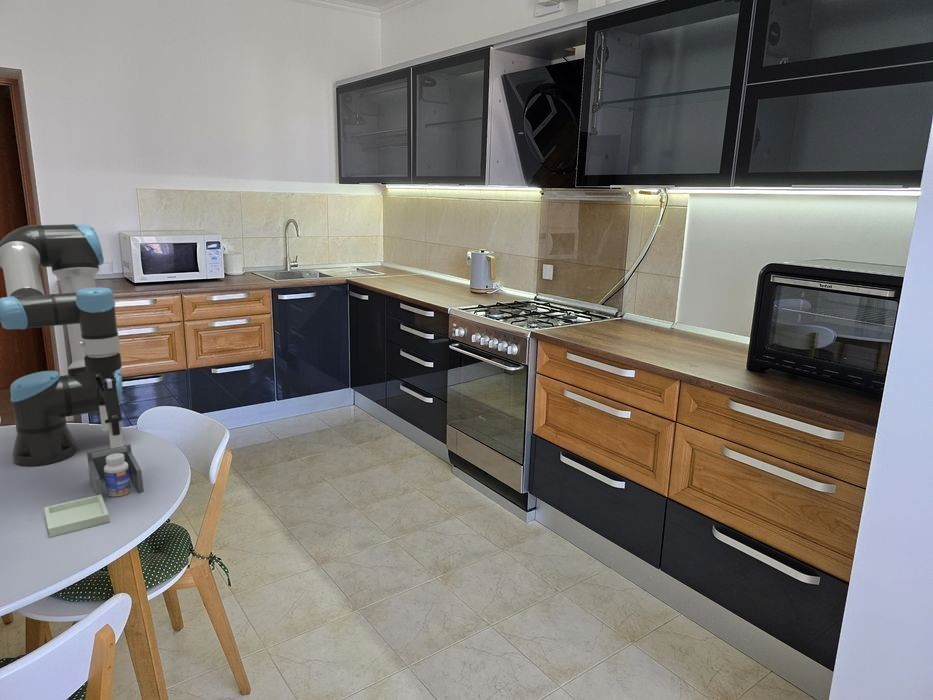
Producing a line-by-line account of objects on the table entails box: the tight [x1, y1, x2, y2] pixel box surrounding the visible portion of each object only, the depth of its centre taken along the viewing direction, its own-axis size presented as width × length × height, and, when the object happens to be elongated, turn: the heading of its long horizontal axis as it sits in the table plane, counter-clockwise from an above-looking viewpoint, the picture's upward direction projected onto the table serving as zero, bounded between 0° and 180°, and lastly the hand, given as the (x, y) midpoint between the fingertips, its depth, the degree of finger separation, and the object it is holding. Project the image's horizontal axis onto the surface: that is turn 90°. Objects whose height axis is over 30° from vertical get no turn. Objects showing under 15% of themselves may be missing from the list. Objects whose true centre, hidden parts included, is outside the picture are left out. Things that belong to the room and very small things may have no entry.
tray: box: [43, 494, 111, 538], centre depth 146 cm, size 12×12×2 cm
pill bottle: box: [104, 453, 132, 498], centre depth 158 cm, size 5×5×10 cm
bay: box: [86, 443, 145, 499], centre depth 161 cm, size 14×10×8 cm
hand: (112, 438), depth 155 cm, fingers open, 13 cm apart
